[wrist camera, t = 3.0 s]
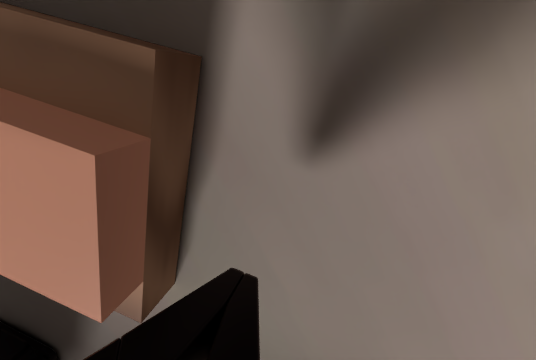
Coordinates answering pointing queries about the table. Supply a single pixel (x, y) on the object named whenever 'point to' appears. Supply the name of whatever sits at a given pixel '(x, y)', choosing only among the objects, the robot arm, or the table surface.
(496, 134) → the table surface
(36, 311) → the table surface
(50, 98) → the plate
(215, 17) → the table surface
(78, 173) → the block
